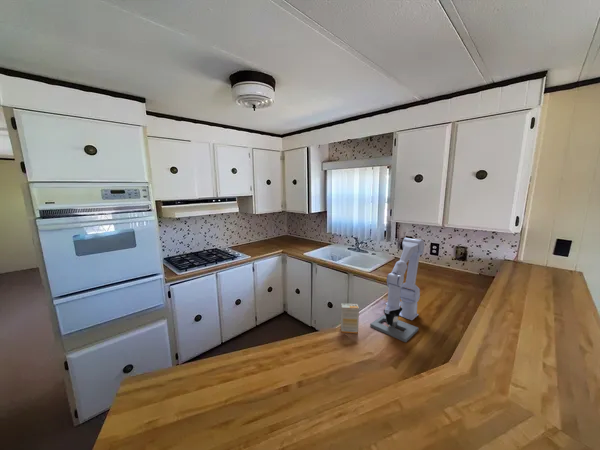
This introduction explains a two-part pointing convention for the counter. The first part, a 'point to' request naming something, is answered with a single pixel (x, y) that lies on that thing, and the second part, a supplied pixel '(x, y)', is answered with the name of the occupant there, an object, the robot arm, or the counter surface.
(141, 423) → the counter surface
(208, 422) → the counter surface
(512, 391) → the counter surface
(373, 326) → the keyhole plate
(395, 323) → the headed peg
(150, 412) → the counter surface
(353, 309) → the supplement box
